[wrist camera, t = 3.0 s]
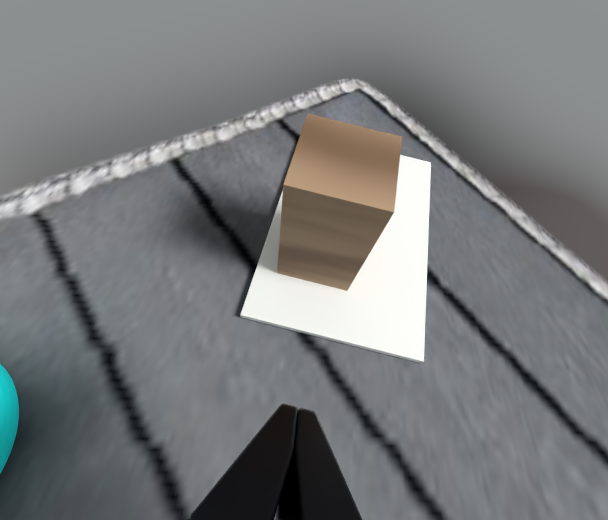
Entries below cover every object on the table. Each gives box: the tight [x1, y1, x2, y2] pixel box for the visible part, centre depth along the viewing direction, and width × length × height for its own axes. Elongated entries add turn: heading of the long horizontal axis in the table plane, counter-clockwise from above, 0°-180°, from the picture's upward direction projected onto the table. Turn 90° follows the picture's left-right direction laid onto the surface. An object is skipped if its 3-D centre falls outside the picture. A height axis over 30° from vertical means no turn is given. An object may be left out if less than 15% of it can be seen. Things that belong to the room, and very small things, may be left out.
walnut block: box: [277, 114, 402, 291], centre depth 19 cm, size 5×5×9 cm
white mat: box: [241, 155, 431, 363], centre depth 24 cm, size 18×12×1 cm, turn 167°
